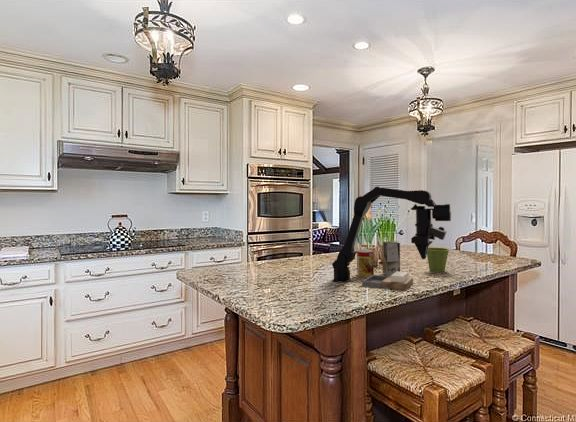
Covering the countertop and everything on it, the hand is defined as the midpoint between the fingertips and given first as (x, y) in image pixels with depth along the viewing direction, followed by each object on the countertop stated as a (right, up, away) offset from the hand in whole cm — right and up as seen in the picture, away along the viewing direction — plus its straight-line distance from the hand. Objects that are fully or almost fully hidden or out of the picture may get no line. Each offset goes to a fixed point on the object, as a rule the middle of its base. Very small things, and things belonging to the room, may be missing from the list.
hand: (423, 258), depth 149 cm
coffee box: (-6, -12, +28) cm, 30 cm away
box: (-17, -12, +10) cm, 23 cm away
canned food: (-18, -12, +28) cm, 35 cm away
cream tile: (-8, -10, +5) cm, 14 cm away
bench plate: (-9, -12, +6) cm, 16 cm away
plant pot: (+20, -11, +36) cm, 42 cm away
